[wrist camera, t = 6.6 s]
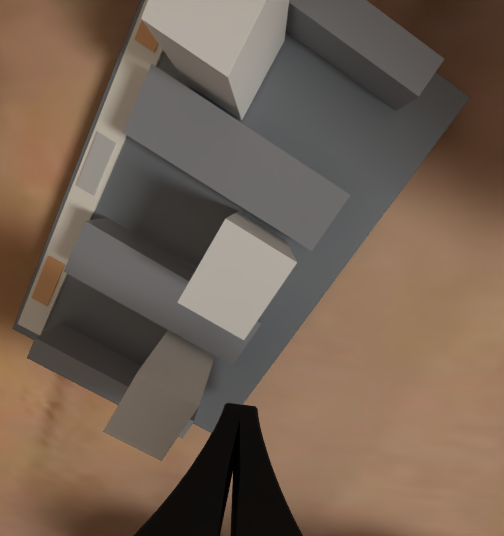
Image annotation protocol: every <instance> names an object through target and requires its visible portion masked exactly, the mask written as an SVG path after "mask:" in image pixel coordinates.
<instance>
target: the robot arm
mask: <svg viewBox="0 0 504 536" xmlns="http://www.w3.org/2000/svg"><path fill="white" fill-rule="evenodd" d="M232 473H233V487H232V513H231V536H303V535H302V533H301V531H300V529H299V527H298V525H297V524H296V522H295V520H294V517H293V515H292V513H291V511H290V509H289V507H288V505H287V502H286V500H285V498H284V496H283V493H282V491H281V489H280V486H279V484H278V481H277V479H276V476H275V473H274V471H273V468H272V465H271V462H270V459H269V456H268V453H267V450H266V447H265V443H264V440H263V436H262V432H261V428H260V423H259V418H258V409H257V408H256V407H255V406H248V405H241V404H234V403H226V404H225V405H224V408H223V411H222V414H221V416H220V418H219V420H218V422H217V424H216V426H215V428H214V430H213V432H212V434H211V435H210V437H209V439H208V441H207V443H206V444H205V446H204V448H203V449H202V451H201V452H200V454H199V455H198V457H197V458H196V460H195V461H194V463H193V464H192V466H191V467H190V469H189V470H188V472H187V473H186V474H185V476H184V477H183V478H182V480H181V481H180V482H179V484H178V485H177V486H176V488H175V489H174V490H173V491H172V493H171V494H170V495H169V496H168V498H167V499H166V500H165V501H164V503H163V504H162V505H161V506H160V507H159V508H158V510H157V511H156V512H155V513H154V514H153V515H152V516H151V517H150V519H149V520H148V521H147V522H146V523H145V524H144V525H143V526H142V527H141V528H140V529H139V530H138V531H137V533H136V534H135V535H134V536H220V532H221V527H222V522H223V517H224V512H225V507H226V502H227V497H228V493H229V488H230V483H231V478H232Z"/></svg>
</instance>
